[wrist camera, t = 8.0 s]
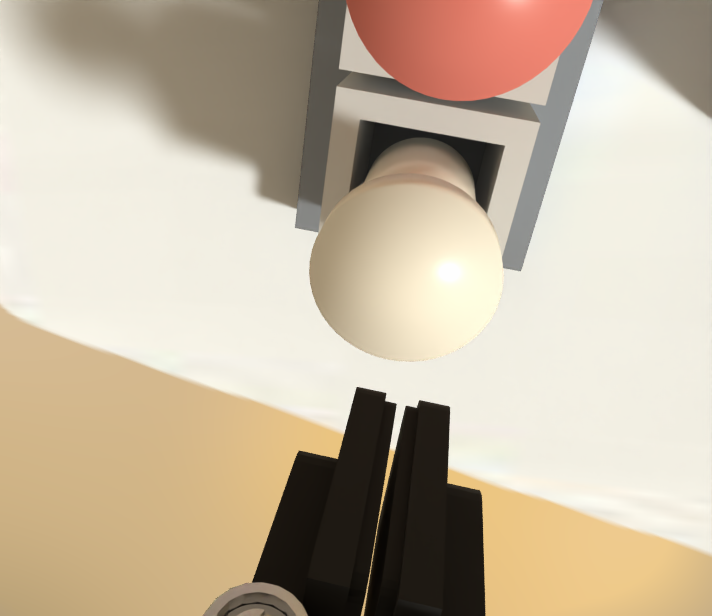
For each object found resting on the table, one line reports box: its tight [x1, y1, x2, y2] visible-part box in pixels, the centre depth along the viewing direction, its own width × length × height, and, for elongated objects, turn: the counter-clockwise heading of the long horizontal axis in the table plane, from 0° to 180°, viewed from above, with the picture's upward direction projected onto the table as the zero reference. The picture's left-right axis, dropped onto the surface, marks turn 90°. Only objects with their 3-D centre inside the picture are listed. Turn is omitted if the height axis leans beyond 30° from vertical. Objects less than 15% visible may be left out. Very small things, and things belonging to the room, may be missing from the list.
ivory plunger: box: [309, 138, 504, 362], centre depth 22 cm, size 6×6×8 cm
